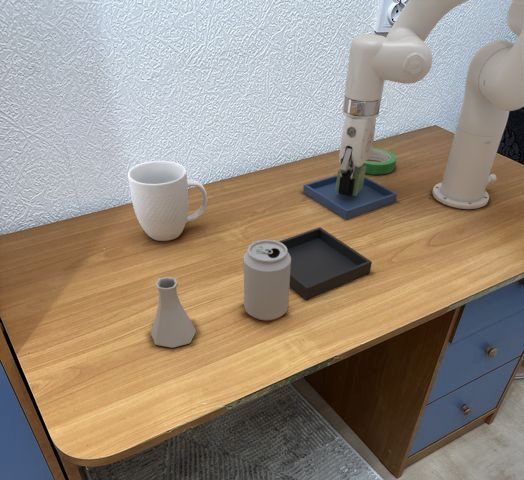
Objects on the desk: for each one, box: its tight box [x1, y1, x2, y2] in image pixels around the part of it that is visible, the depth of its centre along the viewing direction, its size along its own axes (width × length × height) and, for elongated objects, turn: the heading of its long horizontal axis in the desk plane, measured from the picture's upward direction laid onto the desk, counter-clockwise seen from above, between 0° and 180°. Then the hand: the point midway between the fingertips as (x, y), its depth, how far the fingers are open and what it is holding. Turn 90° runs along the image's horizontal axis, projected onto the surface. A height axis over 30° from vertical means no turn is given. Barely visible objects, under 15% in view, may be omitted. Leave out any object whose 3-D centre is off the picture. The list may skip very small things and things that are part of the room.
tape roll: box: [363, 147, 397, 175], centre depth 130 cm, size 11×11×3 cm
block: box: [335, 162, 366, 196], centre depth 115 cm, size 5×5×5 cm
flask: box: [150, 276, 197, 349], centre depth 78 cm, size 7×7×10 cm
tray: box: [302, 174, 398, 220], centre depth 117 cm, size 15×15×2 cm
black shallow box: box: [278, 226, 373, 301], centre depth 96 cm, size 15×15×2 cm
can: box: [243, 239, 291, 322], centre depth 83 cm, size 8×8×12 cm
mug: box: [127, 160, 209, 242], centre depth 101 cm, size 15×11×13 cm
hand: (349, 188), depth 117 cm, fingers closed on block, 5 cm apart
